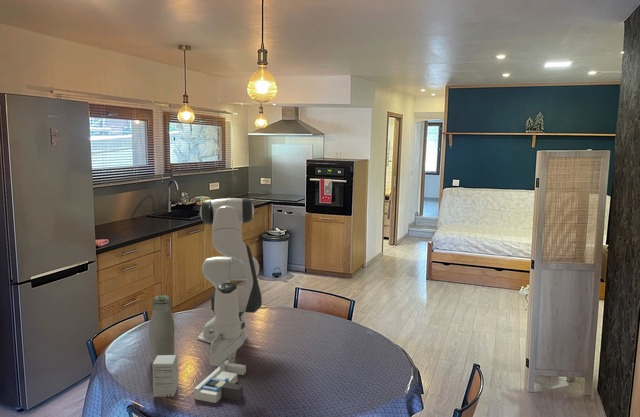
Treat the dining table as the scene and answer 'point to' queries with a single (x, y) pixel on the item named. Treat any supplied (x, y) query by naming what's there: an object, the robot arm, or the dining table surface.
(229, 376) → the white angular block assembly
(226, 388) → the banded gray post
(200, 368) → the dining table surface
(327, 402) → the dining table surface
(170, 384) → the supplement box
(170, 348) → the glass bottle
